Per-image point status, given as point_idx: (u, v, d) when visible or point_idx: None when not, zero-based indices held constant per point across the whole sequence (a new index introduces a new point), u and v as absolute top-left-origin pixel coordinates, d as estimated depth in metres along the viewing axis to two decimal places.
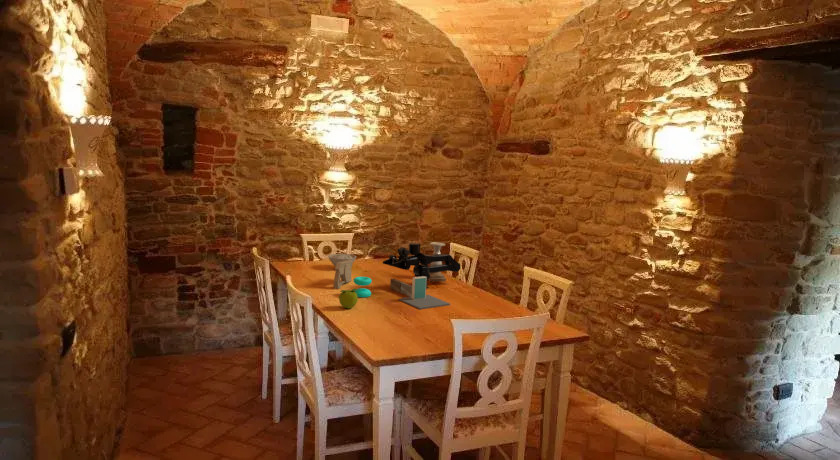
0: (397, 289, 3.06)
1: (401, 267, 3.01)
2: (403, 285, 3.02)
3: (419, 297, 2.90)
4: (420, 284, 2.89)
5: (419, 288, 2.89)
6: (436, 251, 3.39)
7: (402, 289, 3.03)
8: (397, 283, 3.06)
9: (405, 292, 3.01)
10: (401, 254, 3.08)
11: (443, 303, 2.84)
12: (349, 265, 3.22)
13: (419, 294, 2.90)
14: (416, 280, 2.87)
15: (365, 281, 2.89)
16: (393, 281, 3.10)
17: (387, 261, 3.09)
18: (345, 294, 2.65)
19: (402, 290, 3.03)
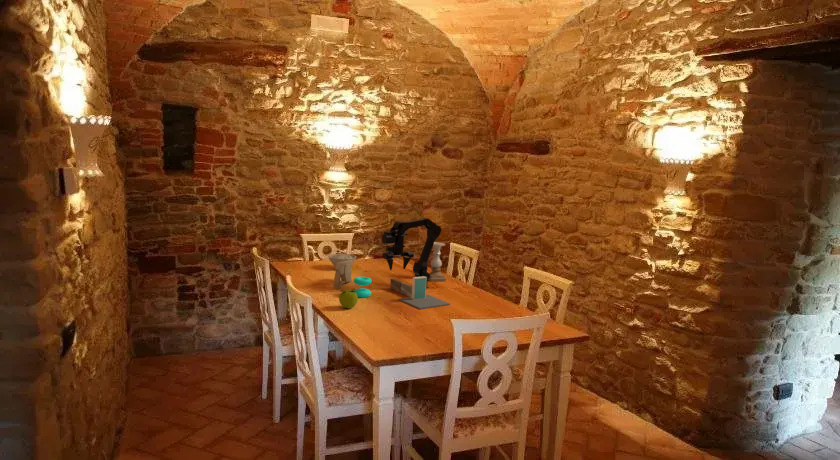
0: (397, 289, 3.06)
1: (390, 261, 3.02)
2: (403, 285, 3.02)
3: (419, 297, 2.90)
4: (420, 284, 2.89)
5: (419, 288, 2.89)
6: (436, 251, 3.39)
7: (402, 289, 3.03)
8: (397, 283, 3.06)
9: (405, 292, 3.01)
10: None
11: (443, 303, 2.84)
12: (349, 265, 3.22)
13: (419, 294, 2.90)
14: (416, 280, 2.87)
15: (365, 281, 2.89)
16: (393, 281, 3.10)
17: (404, 263, 3.10)
18: (345, 294, 2.65)
19: (402, 290, 3.03)
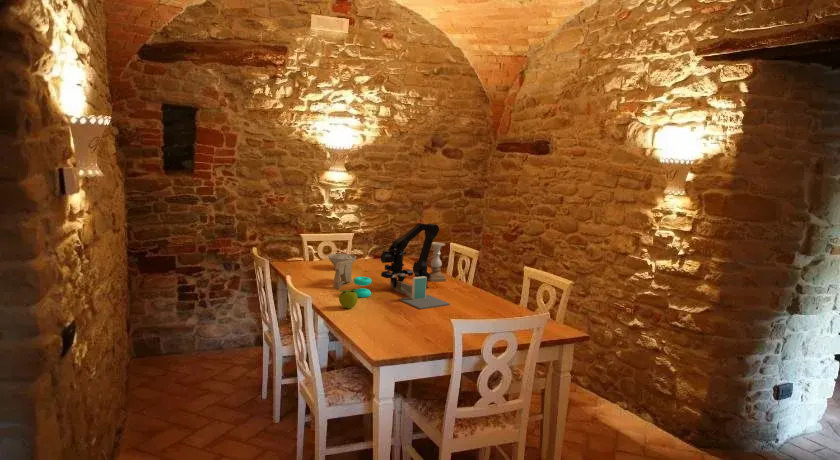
0: (397, 289, 3.06)
1: (394, 279, 3.05)
2: (403, 285, 3.02)
3: (419, 297, 2.90)
4: (420, 284, 2.89)
5: (419, 288, 2.89)
6: (436, 251, 3.39)
7: (402, 289, 3.03)
8: (397, 283, 3.06)
9: (405, 292, 3.01)
10: None
11: (443, 303, 2.84)
12: (349, 265, 3.22)
13: (419, 294, 2.90)
14: (416, 280, 2.87)
15: (365, 281, 2.89)
16: None
17: None
18: (345, 294, 2.65)
19: (402, 290, 3.03)
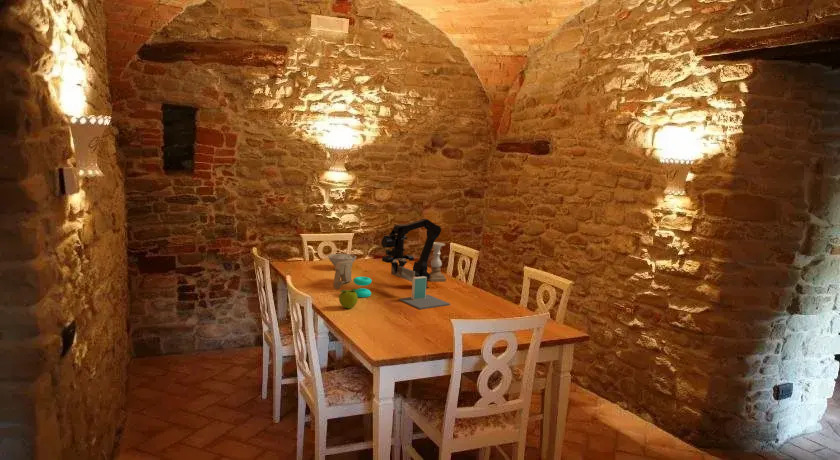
0: (398, 273, 3.05)
1: (394, 264, 3.04)
2: (404, 270, 3.01)
3: (419, 297, 2.90)
4: (420, 284, 2.89)
5: (419, 288, 2.89)
6: (436, 251, 3.39)
7: (403, 274, 3.02)
8: (398, 268, 3.05)
9: (406, 277, 2.99)
10: None
11: (443, 303, 2.84)
12: (349, 265, 3.22)
13: (419, 294, 2.90)
14: (416, 280, 2.87)
15: (365, 281, 2.89)
16: None
17: None
18: (345, 294, 2.65)
19: (403, 275, 3.02)
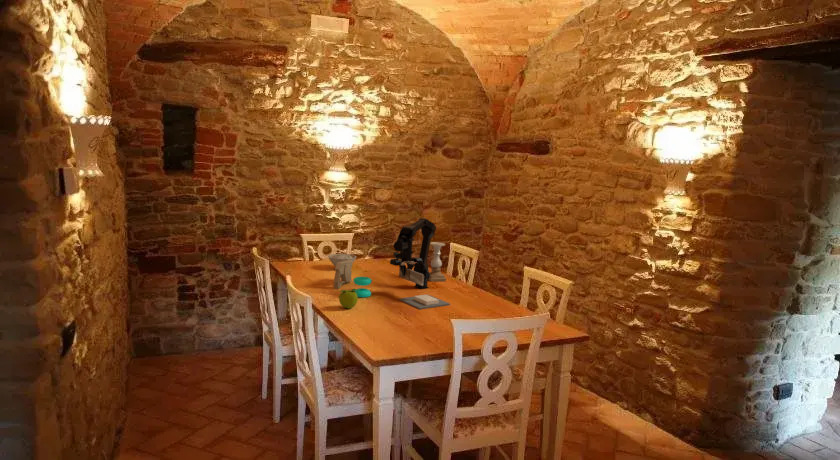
0: (406, 277, 2.98)
1: (403, 267, 2.97)
2: (412, 273, 2.94)
3: None
4: None
5: None
6: (436, 251, 3.39)
7: (411, 277, 2.95)
8: (406, 271, 2.98)
9: (415, 280, 2.92)
10: None
11: (443, 303, 2.84)
12: (349, 265, 3.22)
13: None
14: None
15: (365, 281, 2.89)
16: None
17: None
18: (345, 294, 2.65)
19: (411, 278, 2.95)
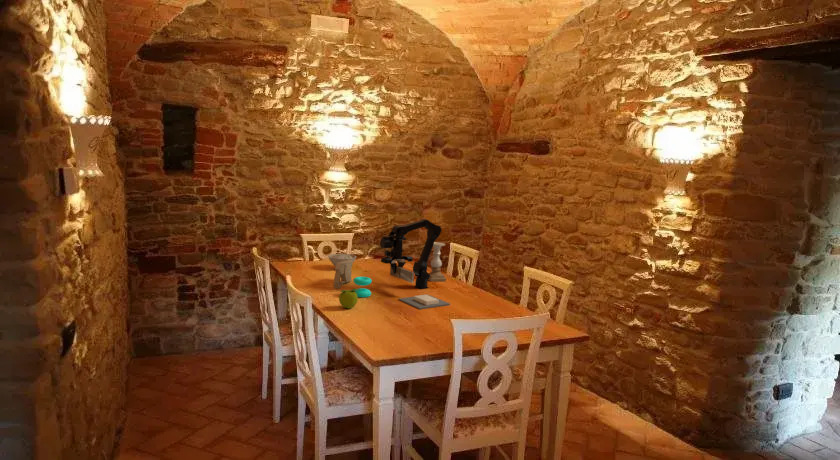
0: (397, 274, 3.06)
1: (393, 265, 3.05)
2: (403, 271, 3.02)
3: None
4: None
5: None
6: (436, 251, 3.39)
7: (402, 275, 3.03)
8: (397, 269, 3.06)
9: (405, 278, 3.01)
10: None
11: (443, 303, 2.84)
12: (349, 265, 3.22)
13: None
14: None
15: (365, 281, 2.89)
16: None
17: None
18: (345, 294, 2.65)
19: (402, 276, 3.03)
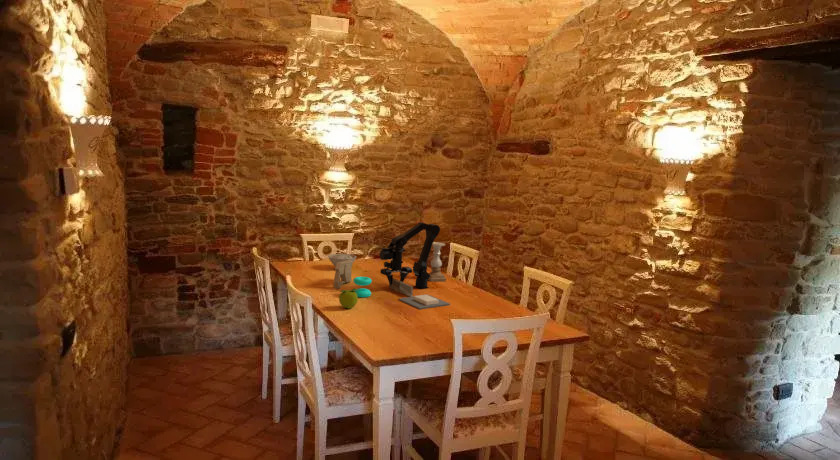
0: (396, 288, 3.07)
1: (389, 277, 3.05)
2: (402, 285, 3.03)
3: None
4: None
5: None
6: (436, 251, 3.39)
7: (401, 289, 3.04)
8: (396, 283, 3.07)
9: (404, 292, 3.02)
10: None
11: (443, 303, 2.84)
12: (349, 265, 3.22)
13: None
14: None
15: (365, 281, 2.89)
16: (392, 281, 3.10)
17: (401, 278, 3.12)
18: (345, 294, 2.65)
19: (401, 290, 3.04)
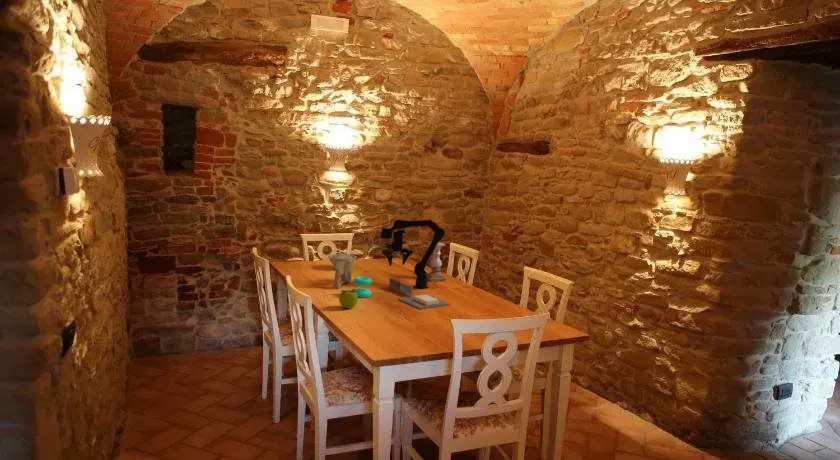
0: (396, 288, 3.07)
1: (389, 257, 3.13)
2: (402, 285, 3.03)
3: None
4: None
5: None
6: (436, 251, 3.39)
7: (401, 289, 3.04)
8: (396, 283, 3.07)
9: (404, 292, 3.02)
10: None
11: (443, 303, 2.84)
12: (349, 265, 3.22)
13: None
14: None
15: (365, 281, 2.89)
16: (392, 281, 3.11)
17: (403, 259, 3.22)
18: (345, 294, 2.65)
19: (401, 290, 3.04)
